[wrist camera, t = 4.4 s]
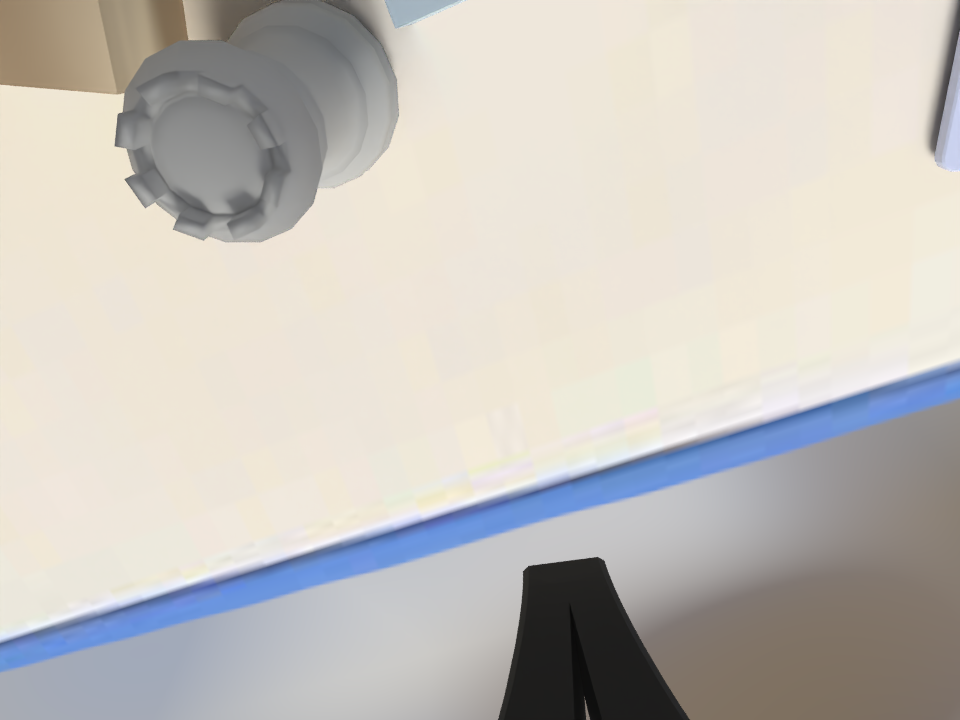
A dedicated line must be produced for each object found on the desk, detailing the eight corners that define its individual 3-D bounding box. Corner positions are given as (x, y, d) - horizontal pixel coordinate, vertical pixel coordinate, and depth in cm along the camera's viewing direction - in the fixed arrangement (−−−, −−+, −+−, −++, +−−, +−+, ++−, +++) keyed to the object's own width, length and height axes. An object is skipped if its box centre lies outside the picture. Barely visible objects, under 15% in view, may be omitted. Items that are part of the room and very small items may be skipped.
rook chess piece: (204, 19, 15) (-21, 32, 8) (374, -21, 15) (286, -44, 8) (270, 193, 17) (136, 316, 10) (419, 162, 17) (382, 269, 10)
